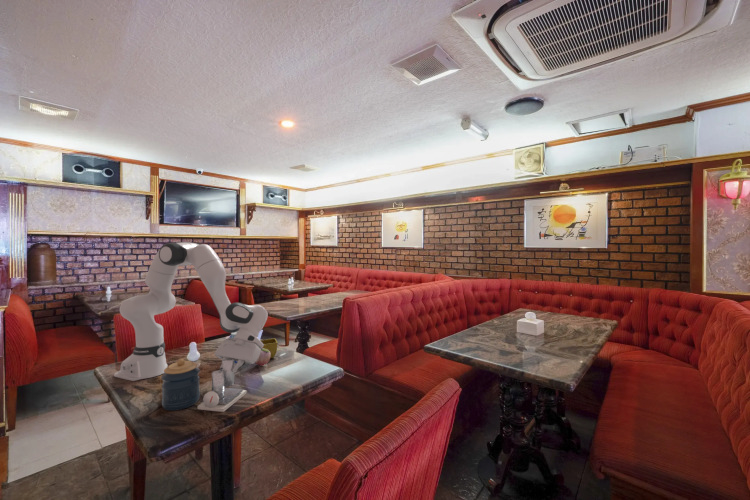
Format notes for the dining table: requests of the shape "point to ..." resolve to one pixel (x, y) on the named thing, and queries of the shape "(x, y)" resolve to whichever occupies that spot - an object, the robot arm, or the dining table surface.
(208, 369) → the dining table surface
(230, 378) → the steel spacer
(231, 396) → the grey square plate
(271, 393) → the dining table surface
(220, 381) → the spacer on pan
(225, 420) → the dining table surface
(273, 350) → the flower pot
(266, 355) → the decorative fruit
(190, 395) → the canister
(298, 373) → the dining table surface
